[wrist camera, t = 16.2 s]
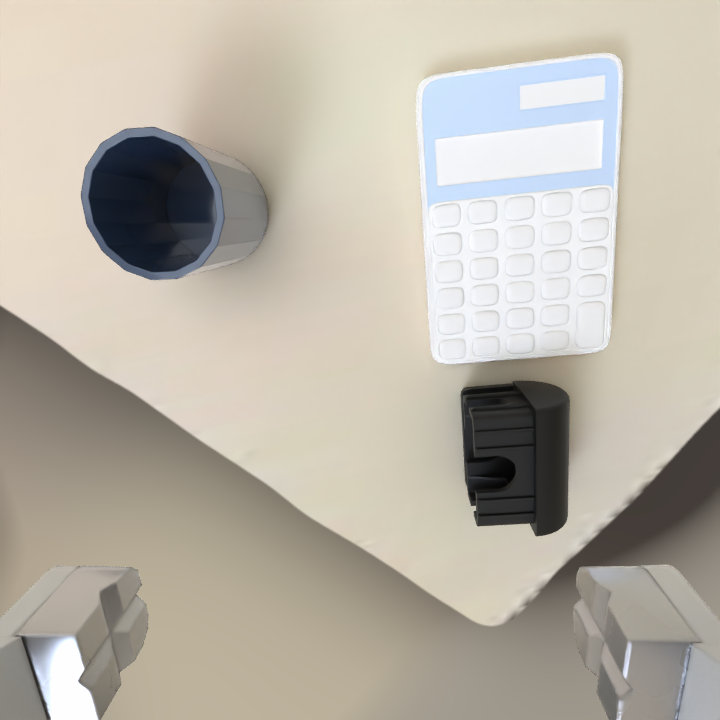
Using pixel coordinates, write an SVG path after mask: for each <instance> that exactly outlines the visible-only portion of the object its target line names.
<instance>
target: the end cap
mask: <svg viewBox="0 0 720 720" xmlns="http://www.w3.org/2000/svg"><path fill="white" fill-rule="evenodd" d="M569 406H570V400H569V396H568V394H567V393H566V392H565V391H564V390H563V389H561V388H559V387H557V386H554V385H551V384H547V383H543V382H535V381H513V384H501V385H488V386H476V387H467V388H464V389H463V390H462V391H461V409H462V429H463V448H464V467H465V481H466V485H467V489H468V496H469V500H470V503H471V506H476V511H474V517H475V521H476V524H477V526H492V525H510V524H528V523H530V525H531V527H532V529H533V531H534V533H535V536H543V535H547V534H551V533H553V532H556V531H558V530H559V529H560V528H562V527H563V526H564V524H565V523H566V520H567V517H568V465H569Z"/></svg>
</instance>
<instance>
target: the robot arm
mask: <svg viewBox="0 0 720 720" xmlns="http://www.w3.org/2000/svg"><path fill="white" fill-rule="evenodd" d="M141 585H142V584H141V580H140V577H139V573H138V570H137V569H134V568H132V567H109V566H56V567H54V568H51V569H49V570H48V571H47V572H46V573H45V574H44V575H43V576H42V577H41V578H40V579H39V580H38V581H37V582H36V583H35V584H34V585H33V586H32V587H31V588H30V589H29V590H28V591H27V592H26V593H25V594H24V595H23V596H22V597H21V598H20V599H19V600H18V601H17V602H16V603H15V604H14V605H13V606H12V607H11V608H10V609H9V610H8V611H7V612H6V613H5V614H4V615H3V616H2V617H1V618H0V720H101V718H102V716H103V715H104V713H105V711H106V709H107V708H108V706H109V704H110V703H111V701H112V699H113V697H114V696H115V694H116V692H117V691H118V689H119V687H120V685H121V679H120V671H122V670H123V669H125V668H126V667H127V666H128V665H130V664H131V663H132V662H134V661H135V659H136V657H137V656H138V654H139V652H140V650H141V648H142V646H143V644H144V640H145V637H146V633H147V630H148V612H147V607H146V604H145V603H144V602H143V601H142V600H141V599H140V598H139V597H138V596H137V595H136V593H137V592H138V590H139V588H140V587H141ZM576 587H577V588H578V591H579V592H580V594H581V596H582V598H581V599H580V600H579V601H578V602H577V604H575V605H574V613H573V626H574V634H575V640H576V643H577V646H578V650H579V653H580V655H581V658H582V660H583V662H584V664H585V667H586V668H588V669H589V670H590V671H591V672H592V673H594V674H595V675H596V676H597V677H598V685H597V694H598V696H599V698H600V700H601V703H602V705H603V707H604V709H605V711H606V714H607V716H608V718H609V720H720V619H718V617H717V616H716V615H715V614H714V612H713V611H712V610H711V609H710V608H709V606H708V605H707V604H706V603H705V602H704V601H703V599H702V598H701V597H700V596H699V595H698V593H697V592H696V591H695V590H694V589H693V588H692V586H691V585H690V584H689V583H688V582H687V581H686V579H685V578H684V577H683V576H682V575H681V573H680V572H679V571H678V570H677V569H676V568H674V567H672V566H671V565H645V566H644V565H641V566H639V567H637V566H610V567H609V566H607V567H605V566H603V567H580V569H579V571H578V573H577V580H576Z"/></svg>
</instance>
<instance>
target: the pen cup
mask: <svg viewBox="0 0 720 720" xmlns="http://www.w3.org/2000/svg"><path fill="white" fill-rule="evenodd" d="M81 200H82V205H83V210H84V214H85V219H86V224H87V227H88V228H89V230H90V232H91V233H92V235H93V237H94V238H95V240H96V242H97V243H98V245H99V247H100V248H101V250H102V251H103V252H104V253H105V254H106V255H107V256H108V257H110V258H111V259H112V260H113V261H114V262H116V263H117V264H118V265H119V266H120V267H121V268H123V269H124V270H126V271H128V272H131V273H133V274H136V275H139V276H142V277H144V278H147V279H150V280H164V279H179V278H182V277H186V276H190V275H194V274H197V273H201V272H205V271H208V270H212V269H216V268H220V267H223V266H227V265H231V264H233V263H235V262H237V261H240V260H242V259H244V258H245V257H247V256H248V255H250V254H251V253H252V252H253V251H254V250H255V249H256V248H257V247H258V245H259V244H260V242H261V241H262V239H263V237H264V234H265V232H266V228H267V224H268V204H267V199H266V196H265V193H264V190H263V188H262V186H261V184H260V183H259V181H258V179H257V178H256V177H255V175H254V174H253V173H252V172H251V171H250V170H249V169H248V168H247V167H246V166H244V165H243V164H242V163H240V162H239V161H238V160H236V159H234V158H231V157H229V156H226V155H224V154H222V153H219V152H217V151H214V150H212V149H209V148H207V147H205V146H202V145H200V144H197V143H195V142H192V141H190V140H187V139H185V138H183V137H180V136H177V135H175V134H172V133H169V132H167V131H164V130H161V129H159V128H156V127H144V128H129V129H124V130H122V131H121V132H119V133H117V134H116V135H114V136H112V137H110V138H109V139H107V140H105V141H104V142H102V143H101V144H100V145H99V147H98V148H97V150H96V151H95V153H94V154H93V156H92V158H91V159H90V161H89V162H88V164H87V165H86V167H85V173H84V179H83V185H82V191H81Z"/></svg>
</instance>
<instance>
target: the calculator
mask: <svg viewBox="0 0 720 720" xmlns="http://www.w3.org/2000/svg"><path fill="white" fill-rule="evenodd" d="M622 100H623V68H622V63H621V61H620V59H619V57H618V56H616V55H614V54H611V53H594V54H586V55H578V56H570V57H562V58H555V59H547V60H539V61H532V62H524V63H516V64H509V65H501V66H493V67H486V68H478V69H470V70H463V71H455V72H448V73H441V74H436V75H432V76H430V77H427V78H425V79H424V80H423V81H422V82H421V83H420V84H419V87H418V89H417V94H416V123H417V140H418V156H419V173H420V189H421V206H422V222H423V238H424V255H425V271H426V288H427V304H428V321H429V336H430V347H431V353H432V356H433V358H434V359H435V361H437V362H439V363H441V364H463V363H476V362H489V361H502V360H515V359H527V358H540V357H553V356H566V355H578V354H588V353H595V352H599V351H601V350H603V349H605V348H606V346H607V345H608V343H609V339H610V333H611V319H612V300H613V280H614V260H615V240H616V220H617V200H618V180H619V160H620V140H621V121H622Z"/></svg>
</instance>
